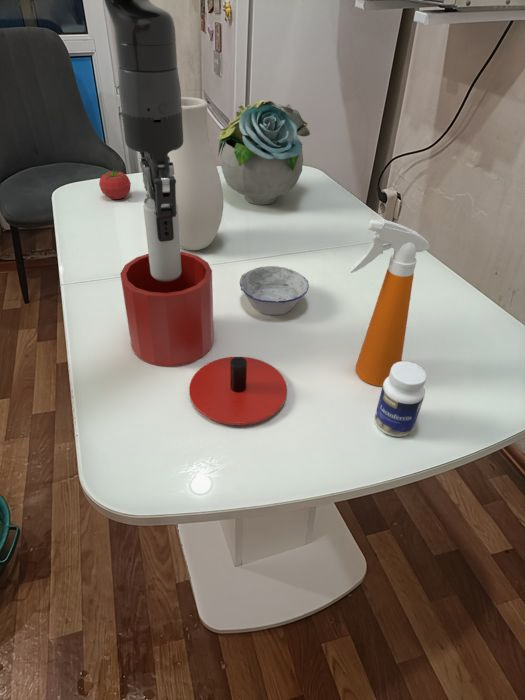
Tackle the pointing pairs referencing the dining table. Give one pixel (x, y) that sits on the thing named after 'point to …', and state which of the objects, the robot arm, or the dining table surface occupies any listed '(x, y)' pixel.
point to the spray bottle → (389, 299)
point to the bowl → (273, 289)
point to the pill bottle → (401, 399)
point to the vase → (196, 179)
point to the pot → (169, 311)
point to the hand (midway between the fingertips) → (162, 231)
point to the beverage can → (162, 246)
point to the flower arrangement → (263, 151)
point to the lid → (238, 390)
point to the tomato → (115, 184)
